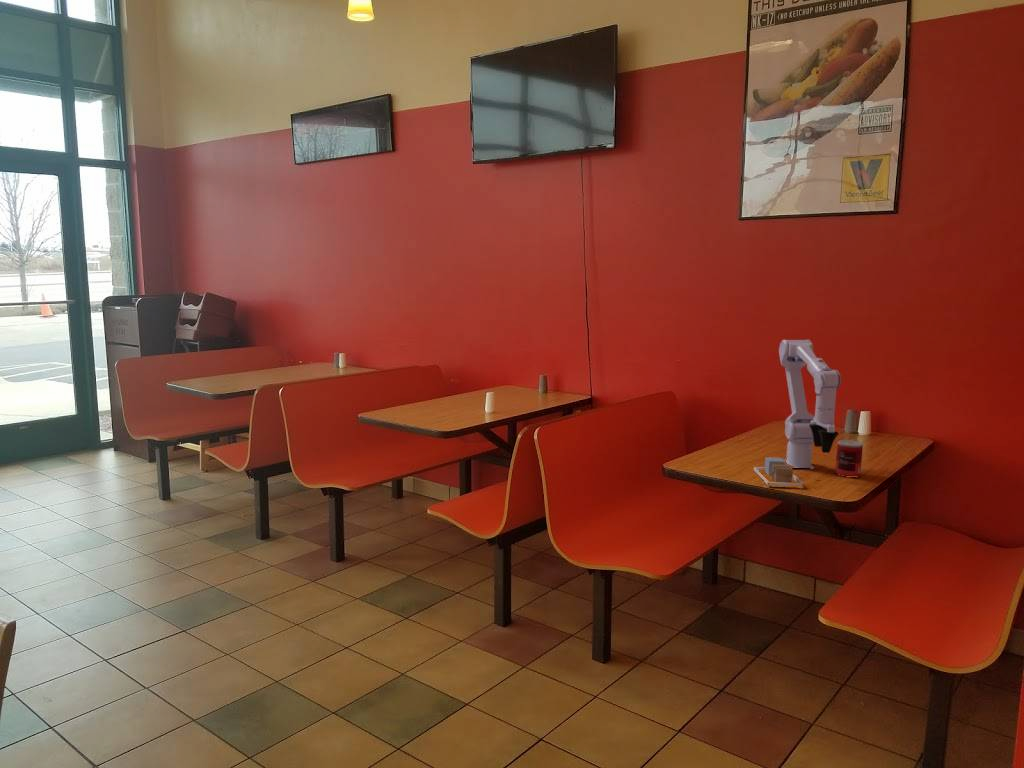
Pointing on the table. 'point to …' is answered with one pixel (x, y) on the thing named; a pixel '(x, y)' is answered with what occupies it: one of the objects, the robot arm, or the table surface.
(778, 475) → the translucent beige cube
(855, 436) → the table surface
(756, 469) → the white flat frame
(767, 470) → the slate-blue block
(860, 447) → the canned food
